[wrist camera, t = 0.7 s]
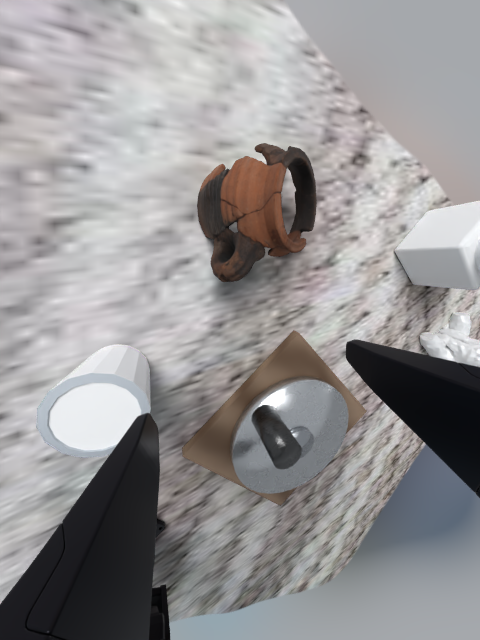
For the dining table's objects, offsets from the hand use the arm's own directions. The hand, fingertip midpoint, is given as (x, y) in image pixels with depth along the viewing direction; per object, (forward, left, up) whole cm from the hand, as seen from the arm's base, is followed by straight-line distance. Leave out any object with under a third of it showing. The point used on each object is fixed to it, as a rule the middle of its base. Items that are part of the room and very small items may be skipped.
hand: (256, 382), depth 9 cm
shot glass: (-10, +2, -15) cm, 18 cm away
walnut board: (-4, -20, -14) cm, 25 cm away
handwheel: (-4, -20, -13) cm, 24 cm away
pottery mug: (+9, +3, -15) cm, 17 cm away
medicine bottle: (+27, -16, -15) cm, 34 cm away
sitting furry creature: (+24, -34, -15) cm, 44 cm away
